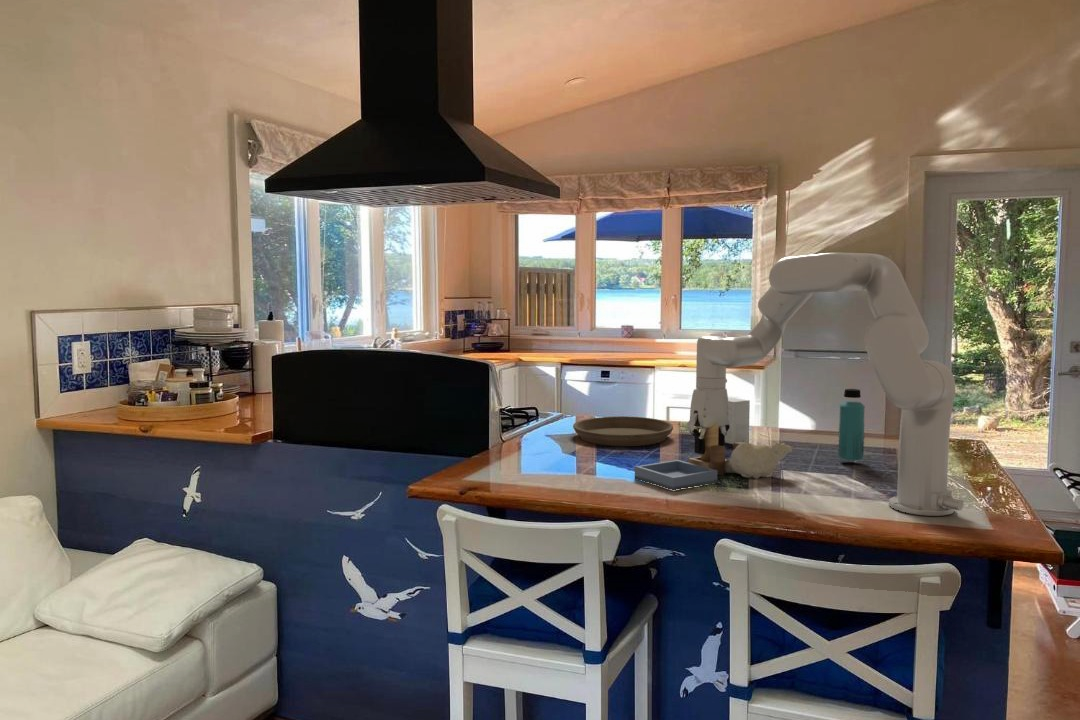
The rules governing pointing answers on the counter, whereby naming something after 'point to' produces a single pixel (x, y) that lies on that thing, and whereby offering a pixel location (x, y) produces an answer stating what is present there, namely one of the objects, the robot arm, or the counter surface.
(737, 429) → the small box
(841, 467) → the counter surface
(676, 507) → the counter surface
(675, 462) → the tray
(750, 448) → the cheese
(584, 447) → the counter surface
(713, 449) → the peg
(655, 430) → the plant saucer
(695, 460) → the dowel socket
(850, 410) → the beverage bottle
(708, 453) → the dowel
